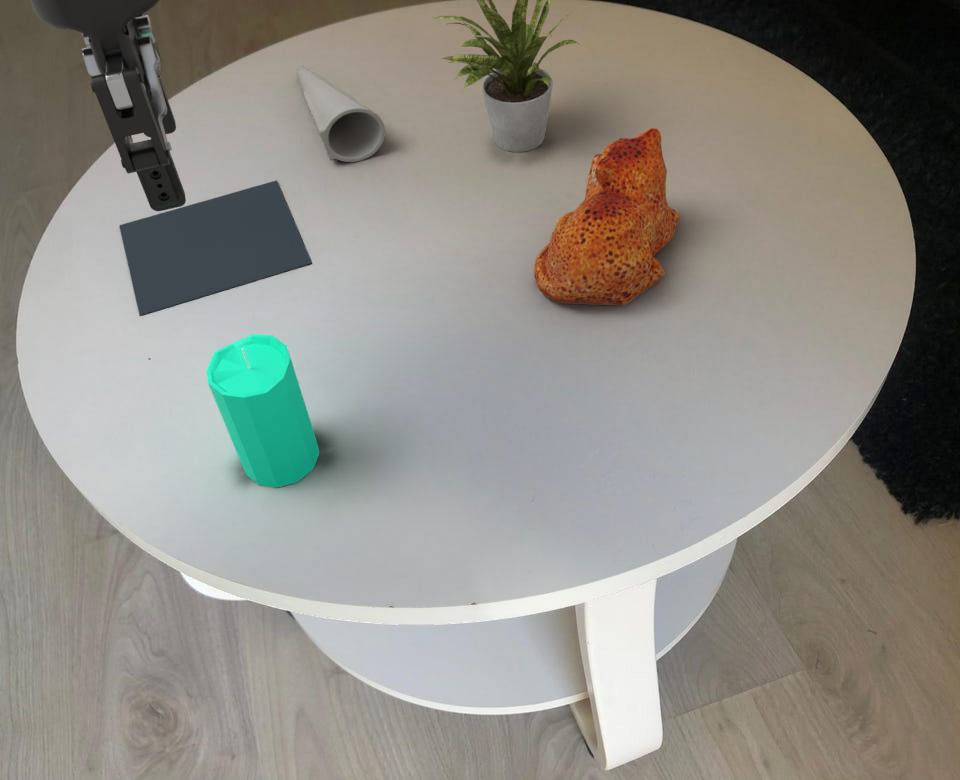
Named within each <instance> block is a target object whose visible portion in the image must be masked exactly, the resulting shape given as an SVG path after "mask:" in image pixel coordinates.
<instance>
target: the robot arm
mask: <svg viewBox="0 0 960 780" xmlns="http://www.w3.org/2000/svg"><path fill="white" fill-rule="evenodd" d="M160 1H161V0H29V3H30V5H31V8H32V9H33V12H34V14H35V15H36V16H37V17H38V18H39V20H41V21H42V22H43V23H45V24H47V25H49V26H50V27H54V28H56V29H60V30H64V31H65V30H71V31H75V32H78V33H81V35H82V38H83V41H84V43H85V46H86V47H83V48H81V55H82V58H83V61H84V65H85V67H86V68H85V69H86V71H87V73H88V75H89V76H90V81H91V83H90V87H91V90H92V93H94V94H95V96H96V99H97V101H98V103H99V106H100V109H101V111H102V114H103V117H104V119H105V122H106V124H107V126H108V127H107V128H108V129H109V131H110V134H111V137H112V139H113V142H114V144H115V147H116V149H117V152H118V155H119V158H120V163H121V166H122V168H123V169H125V171H126V173H127V174H133V173H136V174H137V177H138V179H139V182H140V185H141V187H142V189H143V192H144V194H145V197H146V200H147V202H148V204H149V207H150V209H151V210H152V211H155V212H163V211H167V210H168V211H169V210H173V209H177V208H181V207H184V205H185V204H186V202H187V199H186V198H187V197H186V193H185V192H186V191H185V189H184V187H183V184H182V181H181V178H180V176H179V172H178V171H177V167H176V165H175V162H174V159H173V157H172V154H171V153H172V152H171V151H172V150H173V149H172V145H171V142H170V141H169V140H168V137H167V135H170V134H172V133H175V131H176V130H177V124H176V119H175V116H174V114H173V111H172V108H171V105H170V101H169V99H168V96H167V93H166V90H165V88H164V84H163V82H162V79H161V78H162V72H163V69H162V65H161V63H162V58H161V54H160V50H159V46H158V42H157V39H156V36H155V31H154V27H153V24H152V21H151V19H150V17H149V15H148V14H146V13H147V12H149V11H150V10H151V9H153V8H154V7H155V6H156V5H157V4H158V3H160ZM140 134H143V135H144V136H145V137H147V138H149V139H146V140H141V141H136V142H134V140H133V137H132V136H136V135H140Z"/></svg>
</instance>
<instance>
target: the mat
mask: <svg viewBox="0 0 960 780" xmlns="http://www.w3.org/2000/svg"><path fill="white" fill-rule="evenodd" d="M118 226H119V229H120V230H119V231H120V235H121V239H122V244H123V250H124V253H125V257H126V262H127V265H128V270H129V274H130V280H131V284H132V288H133V292H134V297H135V301H136V305H137V310H138V315H139V317H141V316H144V315H148V314H151V313H154V312H157V311H161V310H164V309H167V308H171V307H174V306H177V305H180V304H184V303H187V302H190V301H194V300H197V299H200V298H203V297H207V296H211V295H214V294H217V293H220V292H223V291H226V290H230V289H233V288H237V287H240V286H243V285H247V284H250V283H252V282H256V281H259V280H263V279H266V278H269V277H272V276H276V275H279V274H283V273H286V272H289V271H292V270H296V269H299V268H303V267H305V266H308V265H311V264H313V263H312V260H311V258H310V255H309V253H308V251H307V248H306V246H305V244H304V241H303V238H302V237H301V234H300V232H299V228H298V227H297V225H296V222H295V220H294V217H293V215H292V213H291V210H290V208H289V206H288V203H287V202H286V198H285V196H284V194H283V192H282V189H281V187H280V185H279V182H278V180H271V181H269V182H266V183H262V184H259V185H256V186H251V187H248V188H245V189H241V190H238V191H234V192H231V193H227V194H224V195H223V194H222V195H221V196H217V197H213V198H210V199H206V200H202V201H199V202H197V203H196V202H195V203H192V204H189V205H185V206H181V207H177V208H173V209H170V210H168V211H167V210H166V211H165V212H161V213H157V214H154V215H151V216H147V217H144V218H140V219H137V220H133V221H130V222H126V223H123V224H119V225H118Z"/></svg>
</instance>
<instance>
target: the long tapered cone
mask: <svg viewBox="0 0 960 780" xmlns="http://www.w3.org/2000/svg"><path fill="white" fill-rule="evenodd" d="M295 76H296V79H297V80H298V82H299V85H300V88H301V90H302V93H303V97H304V100H305V103H306V105H307V107H308V110H309V112H310V115H311V117H312V120H313V122H314V124H315V127H316V129H317V132H318V135H319V137H320V140H321V142H322V144H323V147H324V149H325V151H326V154H327V156H328V158H329V160H330V161H334V160H338V161H341V162H344V163H345V162H346V163H356V162H361V161H364V160H366V159H368V158H370V157H372V156H373V155H374V154H375V153H376V152H377V151H378V150H379V149H380V148H381V146H382V145H383V143H384V140H385V135H386V128H385V127H386V126H385V123H384V121H383V119H382V118H381V117H380V115H378V113H376V112H375V111H374V110H372V109H370V108H369V107H367V106H366V105H364V104H363V103H361V102H359V101H358V100H356V99H355V98H354V97H352V96H350V95H349V94H347V93H346V92H344V91H343V90H341V89H340V88H338V87H337V86H335V85H334V84H332V83H331V82H329V81H328V80H326V79H325V78H323V77H322V76H320V75H319V74H317V73H315V72H314V71H313V70H311V69H309V68H307V67H306V66H304V65H303V66H302V65H300V66H298V67H297V68H296V70H295Z"/></svg>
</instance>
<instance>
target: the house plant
mask: <svg viewBox="0 0 960 780" xmlns="http://www.w3.org/2000/svg"><path fill="white" fill-rule="evenodd" d="M486 1H487V2H486ZM476 2H477V3H478V5H479V8H480V10H481V12H482V13H483V15H484V17H485V19H486V20H487V22H488V23H489V25H490V27H491V29H492V30H493V32H494V34H495V36H496V37H497V39H495V38H494V37H493V36H492V35H491V34H490V33H489V32H488V31H487V30H486V29H484V28H483V27H482V26H481V25H479V24H478V23H477V22H475V21H474V20H472V19H469V18H467V17H465V16H461V15H439V16H435V17H433V19H438V20H441V19H442V20H455V21H461V22H448V23H447V25H461V26H465V27H467V29H469V30H470V31H471V34H473V35H474V37H473V38H471V39H468V40H466V41H464V42H463V43H462V44H461V46H460V48H468V47H472V48H479V49H482V51H483V52H484V53H485V54H475V53H474V54H473V53H465V54H455V55H450V56H445V57H442V58H441V60H445V61H446V60H447V61H448V62H447V63H450V64H451V63H453V64H455V63H459V64H466V65H465V66H464V67H462V68H461V70H460V71H459V72H458V74H457V75H456V77H455V79H454V81H455V80H457V79H458V78H459V77H462V76H466V75H467V77H466V80H465V82H464V85H463V89H462V91H464V90H465V89H466V88H467V87H469V86H471V85H473V84H475V83H477V82H479V81H480V80H482V79H483V80H482V81H481V85H480V86H481V87H480V89H481V93H482V96H483V100H484V104H485V107H486V112H487V116H488V120H489V123H490V127H491V131H492V135H493V139H494V142H495V144H496V145H497V146H498V147H499V148H500V149H502V150H504V151H507V152H510V153H511V152H512V153H525V152H528V151H532V150H534V149H536V148H539V146H541V145H542V144H543V142H544V141H545V136H546V133H547V132H546V131H547V125H548V118H549V110H550V106H551V105H550V104H551V99H552V98H551V97H552V92H553V86H554V85H553V84H554V83H553V78H552V77H551V75H550V74H549V73H548V72H547V71H546V70H544V69H542V68H541V67H540V64H541V62H542V61H543V60H544V59H545V58H546V56H548V54H550V53H552V52H553V51H554V50H556V49H559V48H561V47H564V46H567V45H571V44H576V45H579V46H581V48H582V45H581V44H580V43H579V42H578V41H576V40H574V39H564V40H561V41H559V42H557V43H556V44H554V45H553V46H551V47H549V48H548V49H547V50H546V51H545V52H544V53H543V54H542V55H541V57H540V58H539V60H538V61H537V62H536V61H535V59H536V58H537V55H538V53H539V51H540V50H541V48H542V46H543V44H544V43H545V41H546V40H547V38H548V37H551V38H552V32H554V30H556V28H557V27H558V26H559V24H560V23H561V22H562V21H563V20H565V18H567V17H568V16H569V14H567V15H566V16H564V17H563V18H561V19H559V21H558V22H557V23H556V25H554V26H553V28H551V30H550V31H548V33H546V34H545V35H543V36H540V34H541V31H542V28H543V26H544V24H545V21H546V20H547V16H548V14H549V12H550V7H551V3H552V0H546V1H545V2H544V5H543V0H536V3H535V6H534V10H533V13H532V16H531V20H530V23H527V13H528V12H527V11H528V4H529V0H516V2H515V5H514V8H513V11H512V16H511V29H510V27H509V24H508V23H507V22H506V20H505V18H503V17H502V15H501V14H499V12H498V10H497V7H496V5H495V3H494V1H493V0H476ZM487 3H488V4H487ZM488 5H489V6H490V7H489V6H488ZM542 6H543V7H542ZM541 9H542V10H541ZM540 12H541V13H540ZM571 13H572V11H571V12H570V14H571ZM538 17H539V18H538ZM537 21H538V22H537ZM473 26H474V27H473ZM478 29H479V30H480V31H481V32H482V33H484V34H485V35H486V36H483V35H482V33H481V32H480V31H479V30H478ZM487 42H489V43H490V44H491V45H490V44H488V43H487ZM493 47H494V48H495V49H494V48H493ZM534 61H535V62H534Z"/></svg>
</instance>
